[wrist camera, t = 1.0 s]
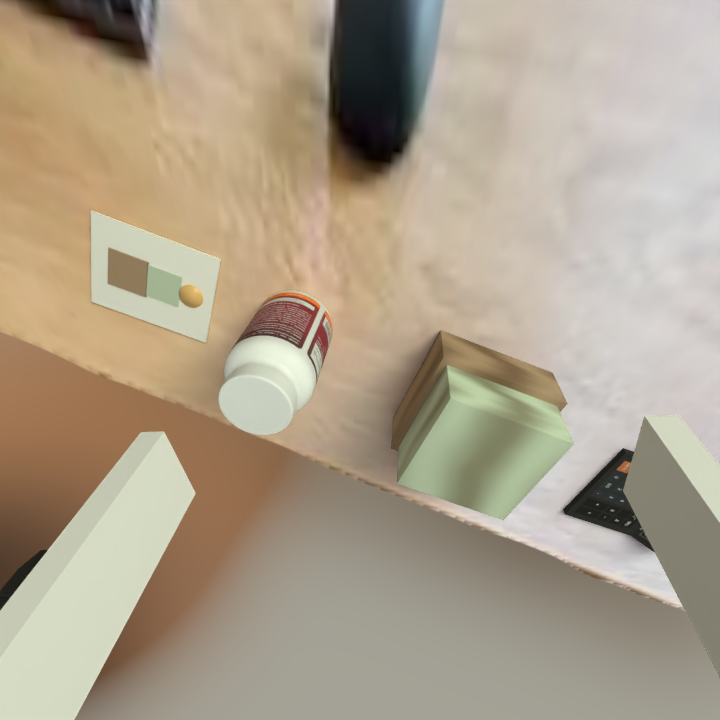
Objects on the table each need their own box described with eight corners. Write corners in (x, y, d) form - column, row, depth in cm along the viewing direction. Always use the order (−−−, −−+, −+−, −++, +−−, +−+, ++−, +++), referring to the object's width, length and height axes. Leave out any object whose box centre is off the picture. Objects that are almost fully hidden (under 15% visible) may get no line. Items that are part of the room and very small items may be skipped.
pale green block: (393, 417, 39) (388, 485, 32) (440, 330, 34) (447, 390, 27) (491, 452, 40) (505, 525, 33) (552, 373, 34) (585, 441, 28)
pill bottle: (245, 316, 35) (184, 398, 26) (296, 272, 32) (247, 344, 23) (298, 366, 37) (259, 458, 28) (349, 328, 34) (325, 415, 25)
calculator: (622, 446, 38) (636, 471, 36) (733, 484, 39) (755, 511, 37) (562, 507, 43) (571, 532, 41) (662, 539, 44) (677, 566, 42)
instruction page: (93, 300, 36) (90, 302, 36) (92, 210, 31) (89, 211, 31) (206, 341, 37) (205, 343, 36) (221, 259, 32) (219, 260, 32)
